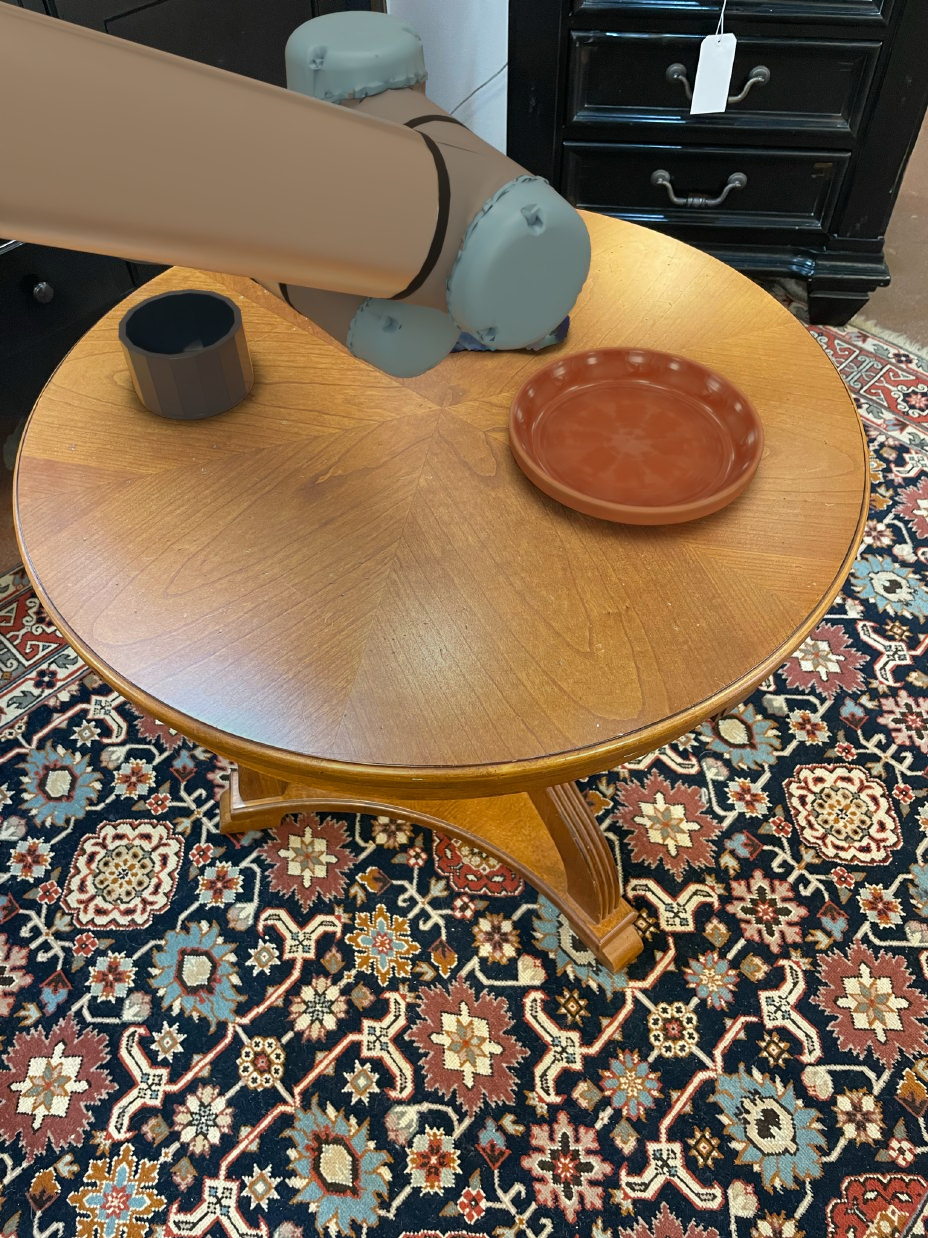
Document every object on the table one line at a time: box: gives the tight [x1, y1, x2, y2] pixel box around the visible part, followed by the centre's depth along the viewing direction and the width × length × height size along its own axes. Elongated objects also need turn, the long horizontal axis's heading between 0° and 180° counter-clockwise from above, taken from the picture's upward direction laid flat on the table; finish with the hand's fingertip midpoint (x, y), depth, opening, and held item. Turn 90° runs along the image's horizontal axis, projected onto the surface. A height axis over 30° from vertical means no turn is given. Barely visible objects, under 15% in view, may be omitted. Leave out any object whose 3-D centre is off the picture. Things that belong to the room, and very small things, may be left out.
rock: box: [450, 314, 571, 353], centre depth 102 cm, size 15×17×2 cm
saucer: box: [507, 346, 766, 526], centre depth 87 cm, size 23×23×4 cm
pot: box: [117, 288, 255, 421], centre depth 93 cm, size 11×11×7 cm
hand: (120, 128), depth 78 cm, fingers closed on lid, 3 cm apart
